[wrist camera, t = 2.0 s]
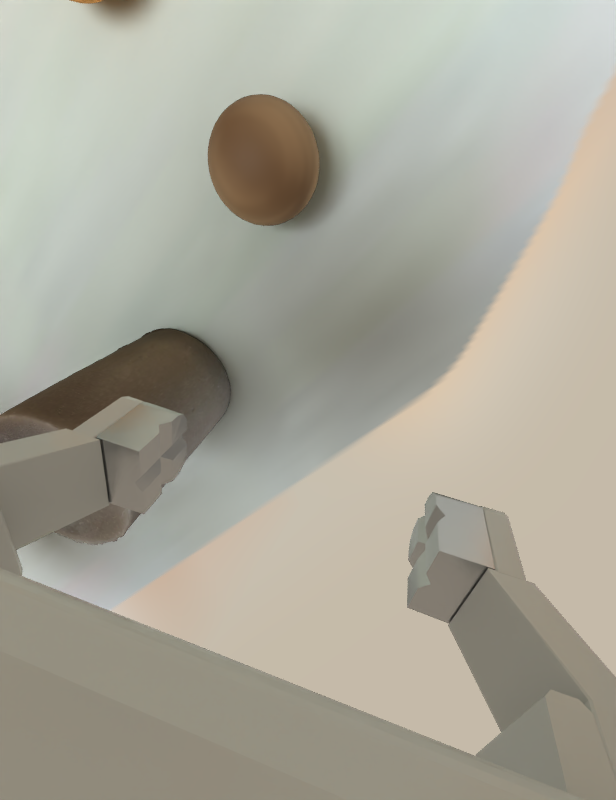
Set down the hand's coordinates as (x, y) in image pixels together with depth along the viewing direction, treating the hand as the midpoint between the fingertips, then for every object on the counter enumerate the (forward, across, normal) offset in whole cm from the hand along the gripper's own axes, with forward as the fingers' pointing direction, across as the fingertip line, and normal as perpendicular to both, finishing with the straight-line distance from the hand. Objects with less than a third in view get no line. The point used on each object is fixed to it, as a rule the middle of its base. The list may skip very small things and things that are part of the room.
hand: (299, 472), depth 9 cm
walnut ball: (+16, +8, -6) cm, 19 cm away
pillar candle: (+19, +14, +12) cm, 27 cm away
